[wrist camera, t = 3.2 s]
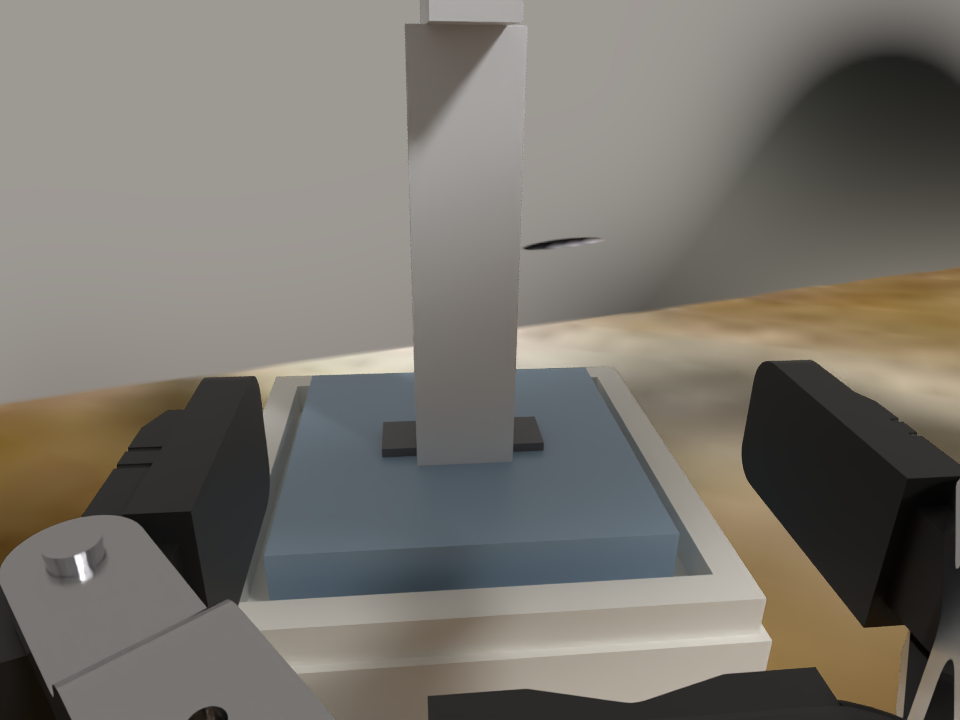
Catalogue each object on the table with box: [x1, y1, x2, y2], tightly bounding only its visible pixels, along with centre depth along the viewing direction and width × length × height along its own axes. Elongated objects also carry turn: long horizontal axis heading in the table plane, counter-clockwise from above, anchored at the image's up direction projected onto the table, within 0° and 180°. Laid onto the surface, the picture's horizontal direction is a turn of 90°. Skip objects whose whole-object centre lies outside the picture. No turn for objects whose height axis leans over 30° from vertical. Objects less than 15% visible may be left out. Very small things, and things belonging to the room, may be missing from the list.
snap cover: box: [263, 0, 680, 601], centre depth 21 cm, size 11×11×16 cm
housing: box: [238, 366, 772, 720], centre depth 25 cm, size 15×15×5 cm
